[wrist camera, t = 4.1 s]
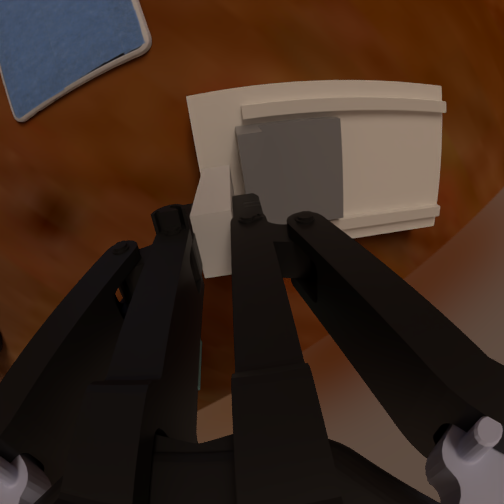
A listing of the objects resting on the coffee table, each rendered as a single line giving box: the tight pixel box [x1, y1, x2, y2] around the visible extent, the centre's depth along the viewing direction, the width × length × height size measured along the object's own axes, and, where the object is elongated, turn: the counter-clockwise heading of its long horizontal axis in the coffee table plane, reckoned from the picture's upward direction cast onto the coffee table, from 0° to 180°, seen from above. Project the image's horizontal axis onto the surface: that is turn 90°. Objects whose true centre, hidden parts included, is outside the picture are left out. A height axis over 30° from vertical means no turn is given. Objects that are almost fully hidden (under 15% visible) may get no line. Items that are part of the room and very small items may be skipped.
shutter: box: [235, 117, 343, 224], centre depth 17 cm, size 6×6×3 cm
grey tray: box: [186, 80, 446, 238], centre depth 20 cm, size 17×11×4 cm, turn 98°
